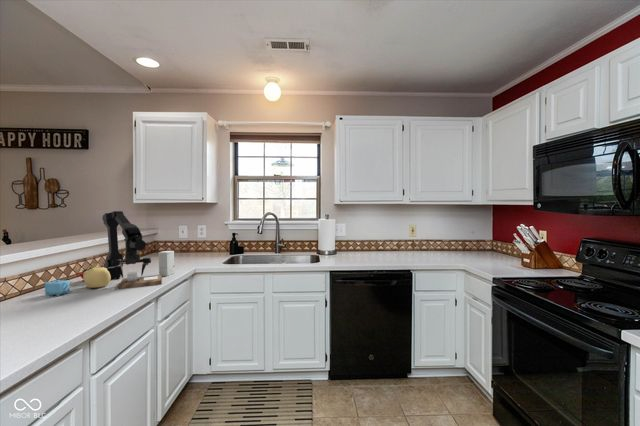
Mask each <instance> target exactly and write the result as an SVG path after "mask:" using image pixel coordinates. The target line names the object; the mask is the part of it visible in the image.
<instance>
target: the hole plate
mask: <svg viewBox="0 0 640 426" xmlns="http://www.w3.org/2000/svg"><path fill="white" fill-rule="evenodd" d="M137 279H138V281H135V282H127V278H121V281H120V283H119V285H118V288H119V290H120V289H130V288H139V287H146V286H157V285H158V286H159V285H162V284H163V283H162V280H163V276H162V275H159V274H158V275H147V276H137Z"/></svg>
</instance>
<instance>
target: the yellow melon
mask: <svg viewBox="0 0 640 426" xmlns="http://www.w3.org/2000/svg"><path fill="white" fill-rule="evenodd" d="M83 278H84V279H83V280H84V282H83V283H84V284H85V286H86V287H88V288H92V289H93V288H94V289H95V288H104V287H105V286H106V287H107V286H108V285H109V284H110V282H111V280H110V279H111V275H110V273H109V271H108V270H107V268H104V267H103V266H102V267H101V266H95V267H94V268H92V269H90V270H88V271H85V272H84V273H83Z"/></svg>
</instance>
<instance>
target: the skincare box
mask: <svg viewBox="0 0 640 426" xmlns="http://www.w3.org/2000/svg"><path fill="white" fill-rule="evenodd" d="M175 270H176V268H175V251H174V250H165V251H160V252H158V275H162V277H168V276H171V275H174V274H175V273H176V272H175Z"/></svg>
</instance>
